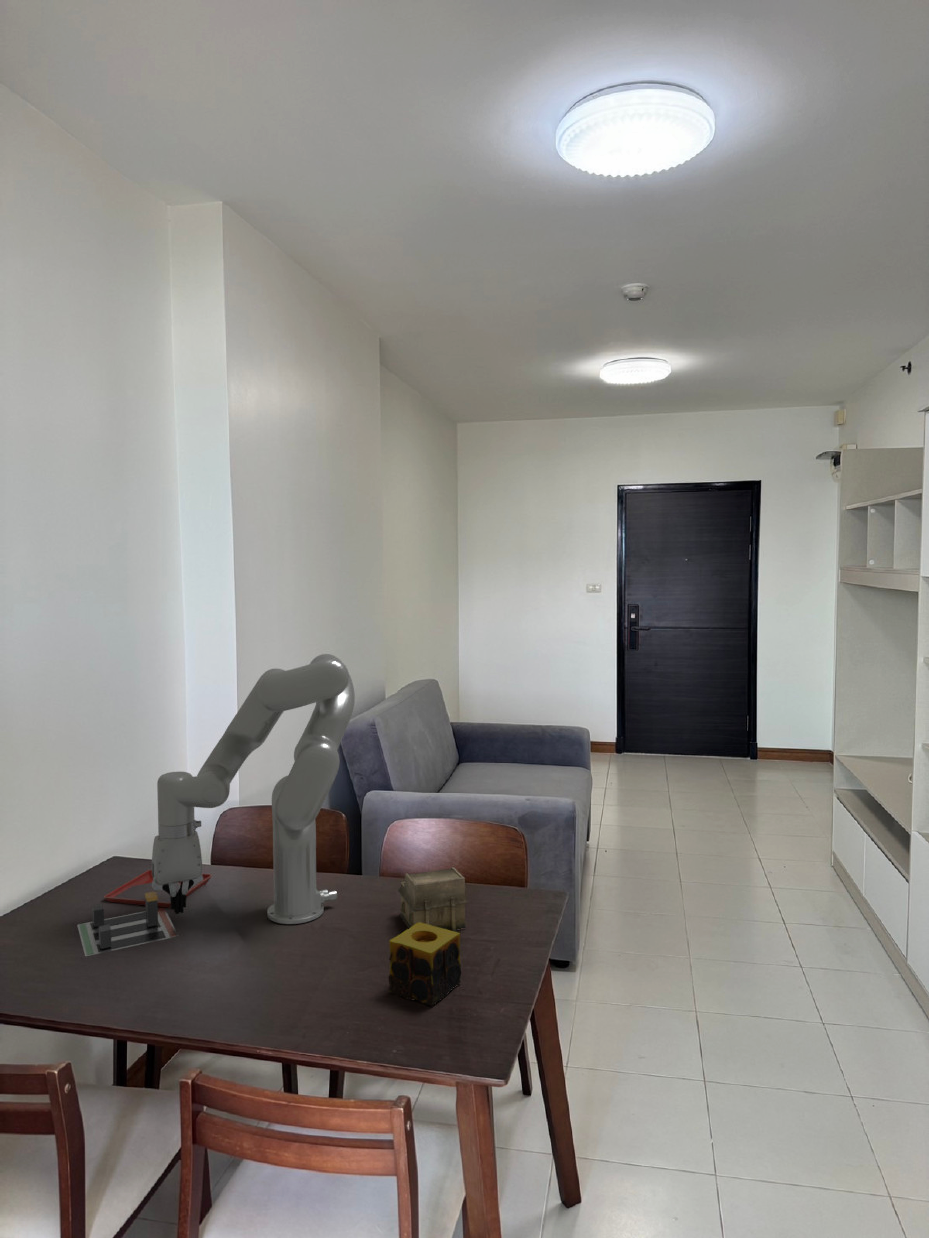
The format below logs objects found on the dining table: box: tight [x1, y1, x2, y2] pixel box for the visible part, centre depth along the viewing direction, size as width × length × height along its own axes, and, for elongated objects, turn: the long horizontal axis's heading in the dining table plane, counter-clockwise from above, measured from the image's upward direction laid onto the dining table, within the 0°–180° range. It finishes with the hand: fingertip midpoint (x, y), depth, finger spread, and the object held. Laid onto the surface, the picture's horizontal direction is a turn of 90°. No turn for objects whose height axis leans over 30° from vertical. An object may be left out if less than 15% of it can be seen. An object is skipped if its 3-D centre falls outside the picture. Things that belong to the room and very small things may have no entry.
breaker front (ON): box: [99, 924, 112, 949], centre depth 168 cm, size 2×3×4 cm, turn 30°
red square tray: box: [103, 869, 213, 908], centre depth 198 cm, size 18×18×3 cm
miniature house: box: [397, 867, 469, 933], centre depth 183 cm, size 15×14×11 cm
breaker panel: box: [76, 907, 180, 957], centre depth 176 cm, size 18×17×2 cm
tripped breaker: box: [144, 891, 159, 927], centre depth 178 cm, size 2×3×6 cm
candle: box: [388, 922, 462, 1007], centre depth 154 cm, size 10×10×10 cm
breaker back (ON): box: [91, 903, 105, 927], centre depth 179 cm, size 2×3×4 cm, turn 30°
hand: (178, 911), depth 181 cm, fingers closed
